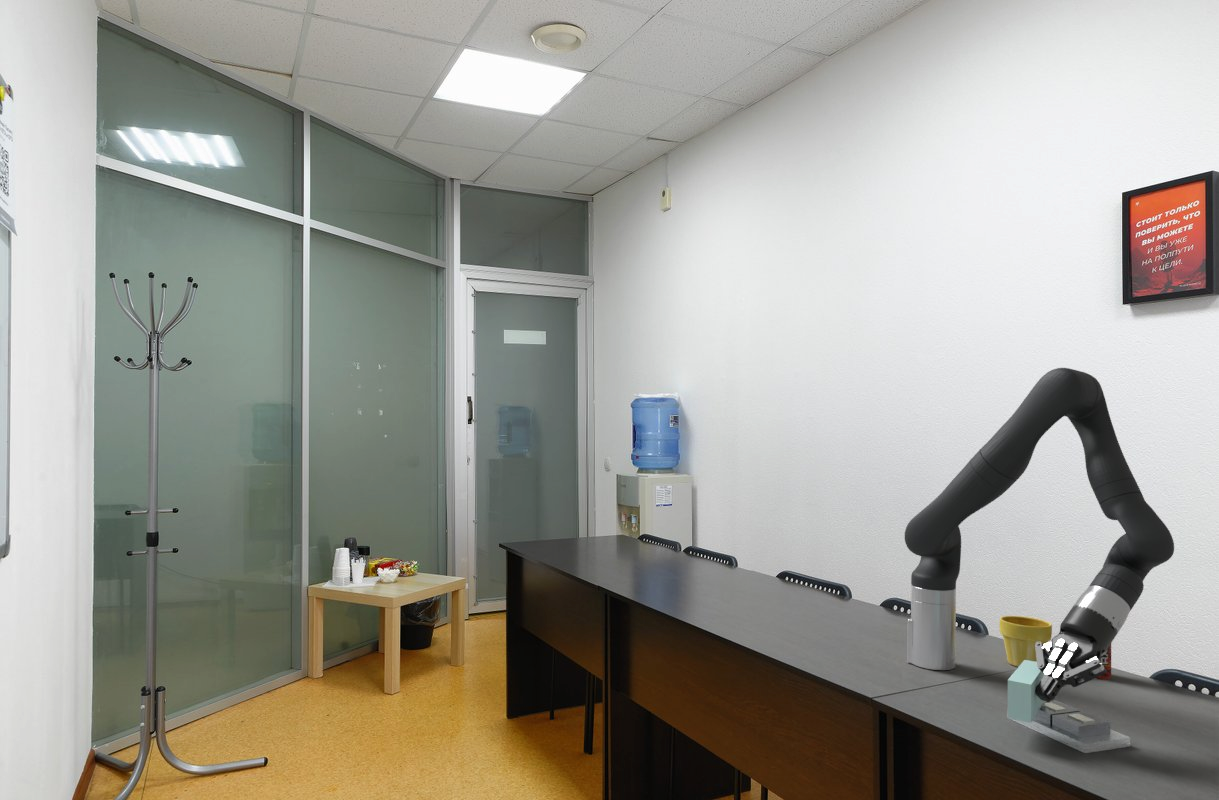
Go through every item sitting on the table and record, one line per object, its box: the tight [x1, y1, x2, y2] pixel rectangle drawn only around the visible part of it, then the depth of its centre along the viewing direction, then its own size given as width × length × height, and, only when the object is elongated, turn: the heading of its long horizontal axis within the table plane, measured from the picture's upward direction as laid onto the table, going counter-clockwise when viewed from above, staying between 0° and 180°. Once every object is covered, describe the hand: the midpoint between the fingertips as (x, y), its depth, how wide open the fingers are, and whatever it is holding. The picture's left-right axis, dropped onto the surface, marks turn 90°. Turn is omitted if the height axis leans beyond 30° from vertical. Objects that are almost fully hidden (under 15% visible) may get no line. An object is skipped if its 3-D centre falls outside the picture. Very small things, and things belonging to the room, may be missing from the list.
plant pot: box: [999, 615, 1053, 668], centre depth 178 cm, size 10×10×10 cm
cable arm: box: [1007, 660, 1045, 723], centre depth 139 cm, size 17×4×6 cm, turn 143°
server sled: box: [1006, 699, 1131, 754], centre depth 139 cm, size 16×10×4 cm, turn 18°
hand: (1041, 698), depth 133 cm, fingers closed
